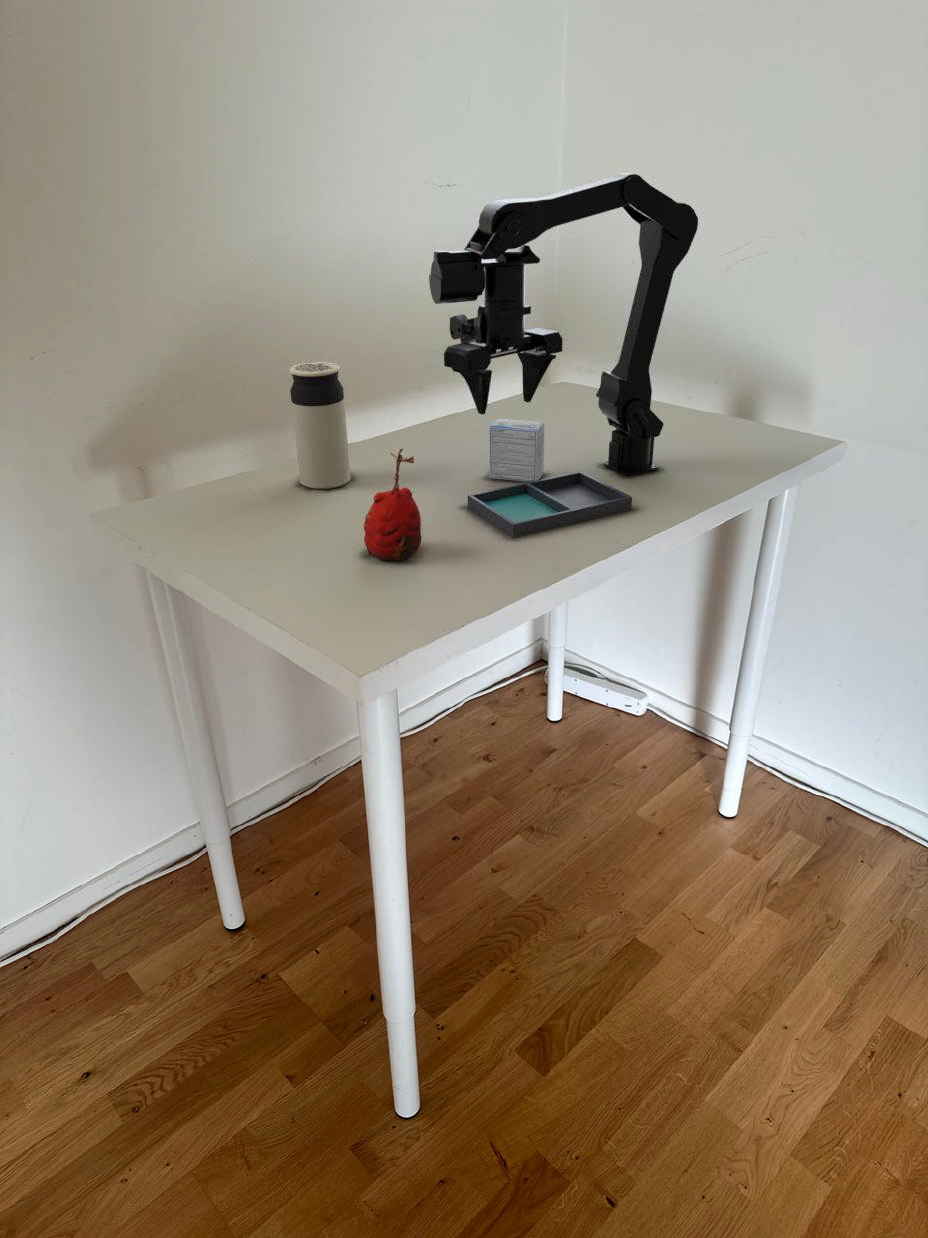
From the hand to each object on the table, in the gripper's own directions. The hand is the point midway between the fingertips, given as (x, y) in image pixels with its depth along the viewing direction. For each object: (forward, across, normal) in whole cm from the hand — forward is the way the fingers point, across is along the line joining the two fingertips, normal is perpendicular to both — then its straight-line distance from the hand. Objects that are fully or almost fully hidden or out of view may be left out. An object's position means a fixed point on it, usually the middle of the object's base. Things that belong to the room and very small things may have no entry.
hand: (504, 407), depth 136 cm
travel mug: (+12, +20, -21) cm, 31 cm away
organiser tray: (+12, +2, +12) cm, 17 cm away
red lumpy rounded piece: (+12, +28, +9) cm, 32 cm away
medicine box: (+12, -4, -1) cm, 13 cm away
